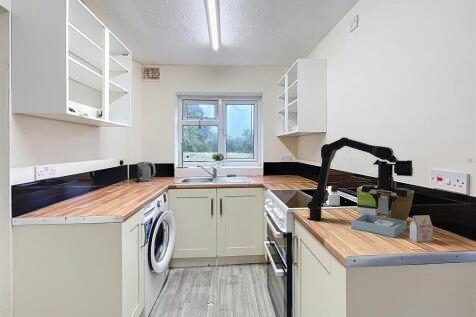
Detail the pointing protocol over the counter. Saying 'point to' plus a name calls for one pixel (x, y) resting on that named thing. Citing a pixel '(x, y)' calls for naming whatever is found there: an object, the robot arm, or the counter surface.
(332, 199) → the medicine bottle
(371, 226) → the walled box
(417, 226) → the milk carton
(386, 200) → the connector
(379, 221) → the frame
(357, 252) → the counter surface
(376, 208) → the tea box
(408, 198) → the plant pot
